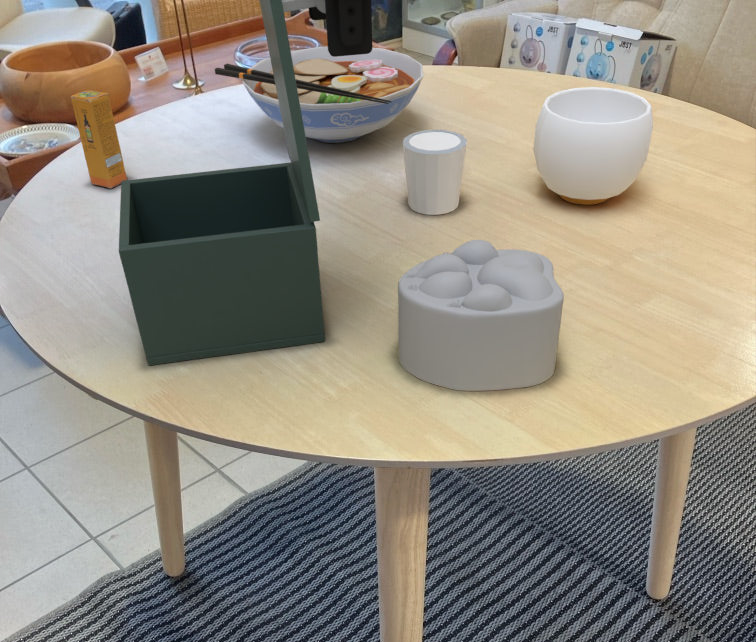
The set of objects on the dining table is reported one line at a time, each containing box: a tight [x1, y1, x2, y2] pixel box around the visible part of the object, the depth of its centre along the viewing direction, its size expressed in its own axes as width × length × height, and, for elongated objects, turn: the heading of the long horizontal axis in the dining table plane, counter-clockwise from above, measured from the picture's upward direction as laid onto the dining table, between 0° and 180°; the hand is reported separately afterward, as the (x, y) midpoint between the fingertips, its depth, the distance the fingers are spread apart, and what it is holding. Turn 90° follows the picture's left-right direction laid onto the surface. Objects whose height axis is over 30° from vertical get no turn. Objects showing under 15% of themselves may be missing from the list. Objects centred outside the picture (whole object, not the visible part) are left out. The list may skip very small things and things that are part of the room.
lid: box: [258, 0, 326, 223], centre depth 68 cm, size 16×14×5 cm
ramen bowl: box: [214, 45, 424, 144], centre depth 109 cm, size 25×23×8 cm
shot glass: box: [402, 129, 468, 216], centre depth 93 cm, size 7×7×7 cm
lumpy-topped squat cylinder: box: [397, 239, 565, 392], centre depth 71 cm, size 10×13×9 cm
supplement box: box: [70, 89, 128, 189], centre depth 99 cm, size 3×3×10 cm
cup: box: [532, 86, 654, 206], centre depth 93 cm, size 12×12×10 cm
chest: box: [118, 161, 326, 366], centre depth 76 cm, size 16×14×11 cm
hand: (339, 35), depth 66 cm, fingers open, 9 cm apart
